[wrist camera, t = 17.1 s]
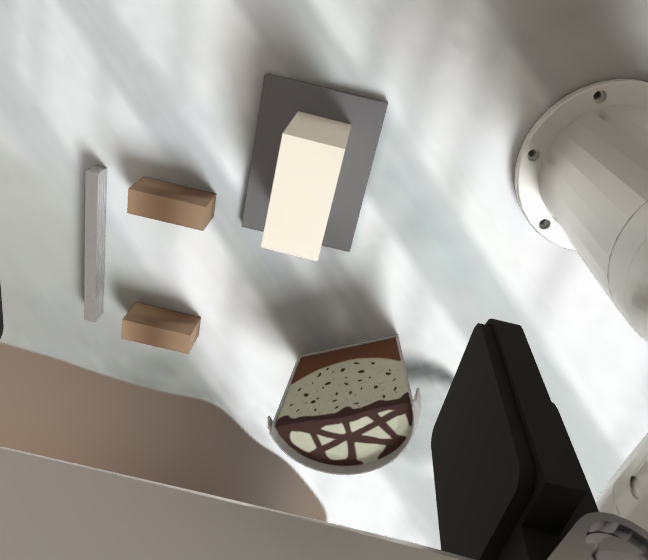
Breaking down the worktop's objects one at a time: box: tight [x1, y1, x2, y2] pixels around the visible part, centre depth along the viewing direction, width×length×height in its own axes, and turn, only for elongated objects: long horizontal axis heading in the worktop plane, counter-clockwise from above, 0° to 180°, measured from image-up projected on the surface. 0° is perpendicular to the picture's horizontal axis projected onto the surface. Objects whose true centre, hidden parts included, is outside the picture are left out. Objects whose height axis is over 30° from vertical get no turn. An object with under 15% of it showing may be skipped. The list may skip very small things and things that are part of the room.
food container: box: [268, 334, 421, 475], centre depth 48 cm, size 12×6×10 cm, turn 108°
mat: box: [242, 73, 388, 252], centre depth 43 cm, size 9×12×1 cm
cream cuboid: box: [261, 111, 351, 261], centre depth 40 cm, size 4×8×7 cm, turn 167°
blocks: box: [84, 166, 216, 354], centre depth 47 cm, size 10×14×3 cm
